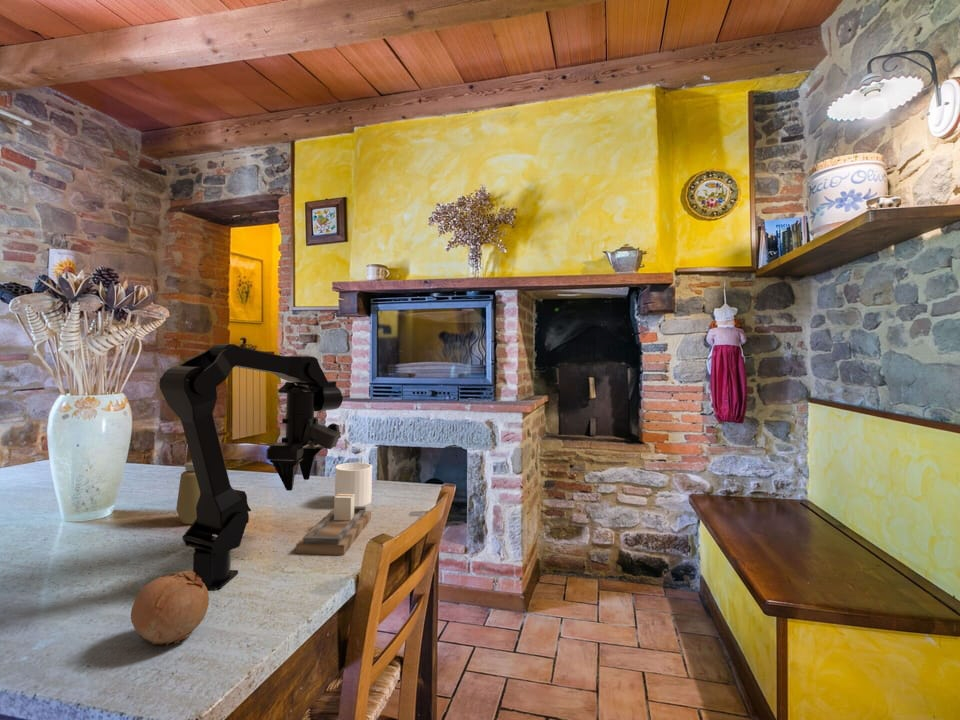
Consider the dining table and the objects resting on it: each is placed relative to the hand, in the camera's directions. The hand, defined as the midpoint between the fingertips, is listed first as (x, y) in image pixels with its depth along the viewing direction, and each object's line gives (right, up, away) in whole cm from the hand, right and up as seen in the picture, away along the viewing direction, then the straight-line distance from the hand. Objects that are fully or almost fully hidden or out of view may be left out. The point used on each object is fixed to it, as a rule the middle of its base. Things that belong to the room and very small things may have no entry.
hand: (298, 484), depth 104 cm
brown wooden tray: (+7, -13, +6) cm, 16 cm away
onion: (-5, -13, -35) cm, 38 cm away
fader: (+7, -11, +11) cm, 17 cm away
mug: (+3, -13, +31) cm, 34 cm away
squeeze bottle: (-30, -12, +13) cm, 35 cm away
